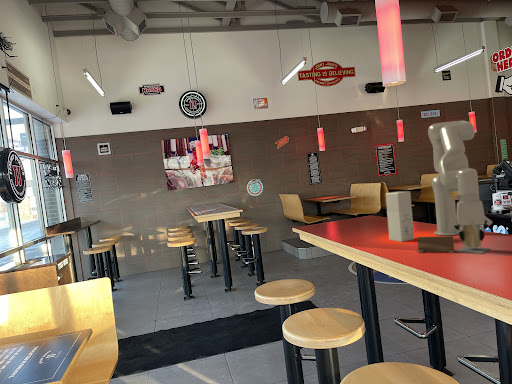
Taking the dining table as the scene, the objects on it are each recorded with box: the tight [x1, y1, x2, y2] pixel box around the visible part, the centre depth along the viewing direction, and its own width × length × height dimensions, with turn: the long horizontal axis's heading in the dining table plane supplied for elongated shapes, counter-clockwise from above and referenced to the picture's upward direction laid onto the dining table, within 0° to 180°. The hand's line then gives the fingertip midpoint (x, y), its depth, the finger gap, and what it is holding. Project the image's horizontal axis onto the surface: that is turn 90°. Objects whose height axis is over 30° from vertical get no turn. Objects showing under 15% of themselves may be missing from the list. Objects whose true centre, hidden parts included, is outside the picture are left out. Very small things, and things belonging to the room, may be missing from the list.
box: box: [462, 222, 482, 248], centre depth 160 cm, size 5×4×11 cm
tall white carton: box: [385, 191, 415, 243], centre depth 198 cm, size 9×9×25 cm
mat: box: [456, 246, 491, 255], centre depth 160 cm, size 10×10×1 cm
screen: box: [417, 235, 455, 254], centre depth 164 cm, size 5×14×6 cm, turn 65°
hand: (472, 239), depth 160 cm, fingers closed on box, 6 cm apart
